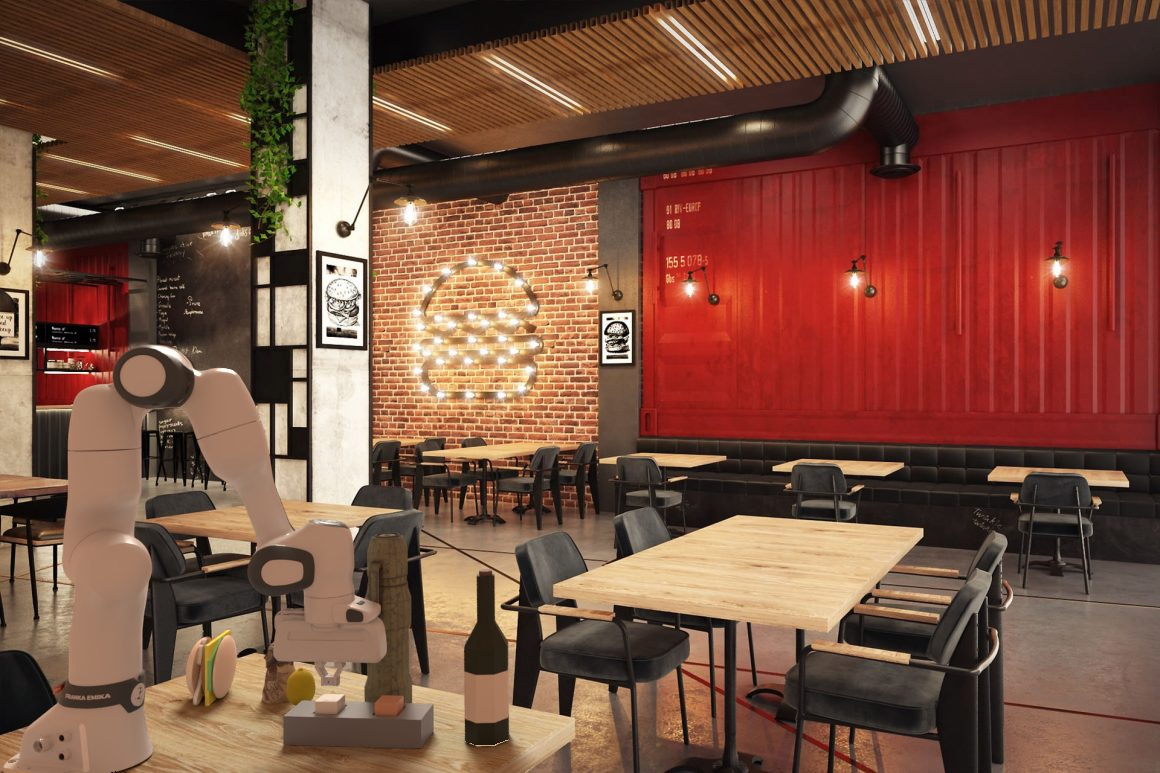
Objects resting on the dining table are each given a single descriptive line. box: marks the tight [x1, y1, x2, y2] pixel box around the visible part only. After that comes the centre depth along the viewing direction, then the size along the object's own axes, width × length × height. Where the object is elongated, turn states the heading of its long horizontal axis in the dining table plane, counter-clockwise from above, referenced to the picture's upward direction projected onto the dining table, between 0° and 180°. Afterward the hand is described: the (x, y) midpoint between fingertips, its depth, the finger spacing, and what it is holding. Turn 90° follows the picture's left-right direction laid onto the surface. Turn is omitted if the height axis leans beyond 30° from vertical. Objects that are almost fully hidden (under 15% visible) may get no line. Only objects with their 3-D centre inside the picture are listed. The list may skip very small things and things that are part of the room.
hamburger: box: [185, 629, 238, 707], centre depth 179 cm, size 12×8×12 cm
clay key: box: [375, 695, 404, 716], centre depth 155 cm, size 4×4×4 cm
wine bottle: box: [463, 568, 510, 745], centre depth 155 cm, size 8×8×30 cm
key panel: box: [282, 700, 435, 749], centre depth 155 cm, size 25×8×5 cm, turn 84°
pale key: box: [314, 693, 346, 714], centre depth 156 cm, size 4×4×4 cm
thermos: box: [363, 532, 413, 703], centre depth 165 cm, size 9×12×35 cm
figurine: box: [261, 641, 296, 704], centre depth 177 cm, size 7×7×12 cm
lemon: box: [286, 667, 316, 707], centre depth 170 cm, size 6×6×8 cm
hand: (330, 685), depth 156 cm, fingers closed
